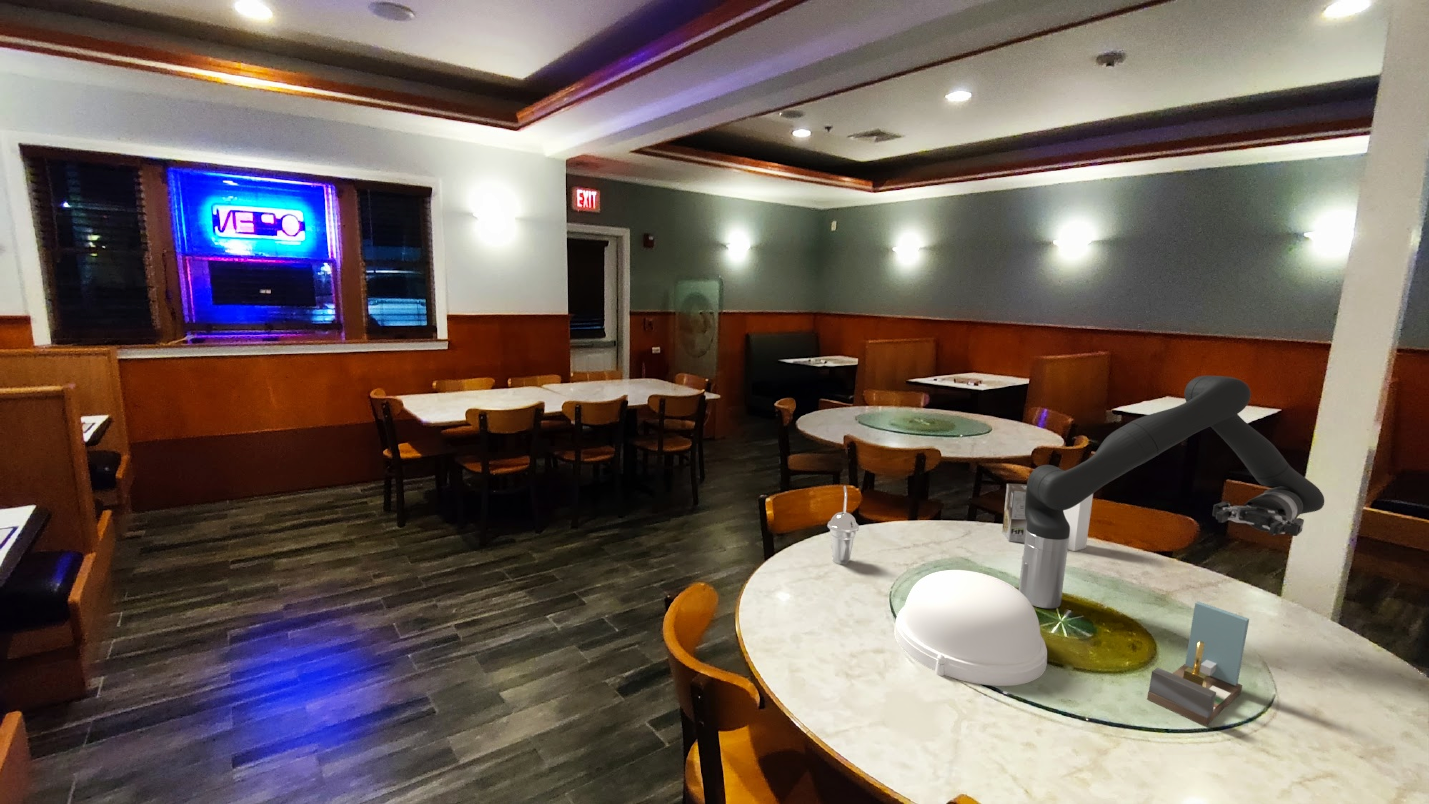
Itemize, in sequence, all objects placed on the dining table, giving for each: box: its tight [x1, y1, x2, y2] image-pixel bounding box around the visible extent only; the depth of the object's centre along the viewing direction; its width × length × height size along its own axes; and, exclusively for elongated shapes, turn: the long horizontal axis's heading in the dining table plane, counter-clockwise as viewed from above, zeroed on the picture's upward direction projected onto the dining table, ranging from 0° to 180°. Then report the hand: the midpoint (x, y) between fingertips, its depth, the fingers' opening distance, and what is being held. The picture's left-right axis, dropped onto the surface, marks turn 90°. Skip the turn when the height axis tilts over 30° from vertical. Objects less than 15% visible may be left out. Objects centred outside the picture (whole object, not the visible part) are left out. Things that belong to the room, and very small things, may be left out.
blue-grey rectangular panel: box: [1184, 601, 1250, 685], centre depth 121 cm, size 4×8×13 cm, turn 35°
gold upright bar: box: [1183, 641, 1208, 687], centre depth 118 cm, size 2×3×8 cm, turn 35°
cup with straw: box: [826, 485, 860, 565], centre depth 175 cm, size 8×9×20 cm
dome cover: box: [893, 569, 1048, 687], centre depth 134 cm, size 32×30×14 cm
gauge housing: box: [1146, 663, 1243, 727], centre depth 119 cm, size 18×9×6 cm, turn 125°
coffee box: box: [1001, 483, 1027, 544], centre depth 198 cm, size 9×6×16 cm
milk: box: [1063, 493, 1094, 552], centre depth 191 cm, size 6×6×22 cm
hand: (1245, 523), depth 132 cm, fingers open, 8 cm apart
